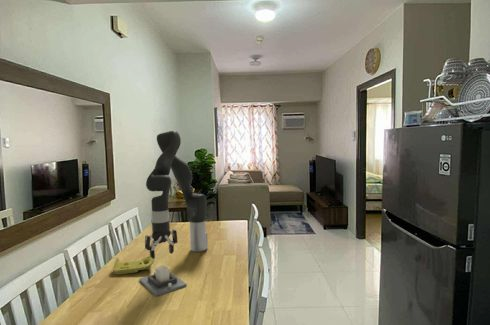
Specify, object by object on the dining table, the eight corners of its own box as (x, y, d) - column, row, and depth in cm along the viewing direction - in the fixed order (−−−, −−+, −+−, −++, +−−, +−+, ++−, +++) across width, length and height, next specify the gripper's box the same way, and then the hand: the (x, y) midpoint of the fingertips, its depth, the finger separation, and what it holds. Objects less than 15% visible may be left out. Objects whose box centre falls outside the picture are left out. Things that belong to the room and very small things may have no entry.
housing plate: (167, 272, 147) (167, 266, 147) (186, 286, 132) (186, 279, 132) (139, 280, 138) (139, 275, 138) (155, 296, 123) (155, 289, 123)
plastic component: (111, 271, 144) (117, 255, 153) (115, 281, 148) (120, 265, 156) (153, 266, 145) (156, 250, 154) (156, 276, 149) (159, 261, 158)
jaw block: (164, 277, 139) (163, 265, 138) (169, 282, 134) (169, 268, 134) (155, 280, 136) (155, 267, 136) (161, 284, 131) (160, 271, 131)
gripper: (171, 215, 141) (173, 249, 142) (141, 221, 132) (143, 257, 133) (179, 218, 135) (180, 253, 136) (148, 224, 126) (150, 262, 127)
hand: (162, 255), depth 134 cm, fingers open, 8 cm apart
